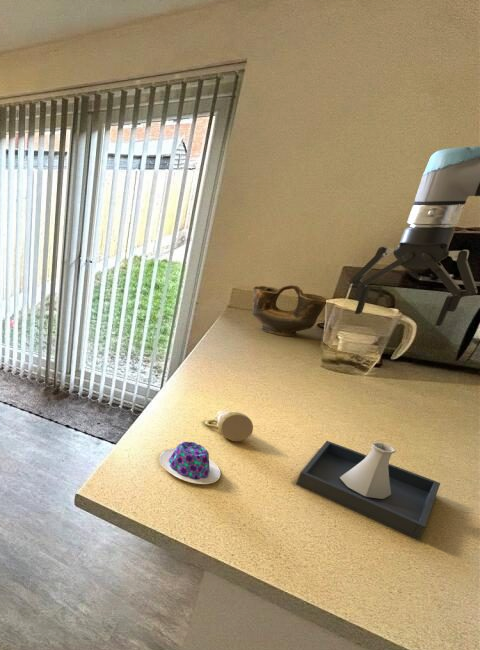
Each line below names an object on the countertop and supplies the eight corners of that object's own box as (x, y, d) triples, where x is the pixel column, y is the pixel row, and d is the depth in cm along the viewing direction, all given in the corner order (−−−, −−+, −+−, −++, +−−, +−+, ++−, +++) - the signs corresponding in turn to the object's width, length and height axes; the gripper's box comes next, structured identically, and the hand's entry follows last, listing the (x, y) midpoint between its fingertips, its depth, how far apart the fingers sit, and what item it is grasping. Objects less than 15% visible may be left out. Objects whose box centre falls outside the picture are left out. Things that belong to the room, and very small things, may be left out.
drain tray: (433, 495, 78) (440, 482, 77) (417, 540, 69) (425, 526, 67) (321, 452, 91) (326, 440, 90) (295, 484, 82) (300, 472, 81)
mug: (233, 421, 104) (257, 403, 96) (233, 453, 98) (259, 437, 90) (204, 411, 105) (225, 392, 97) (203, 442, 100) (226, 425, 92)
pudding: (169, 484, 83) (173, 464, 81) (152, 449, 94) (156, 430, 91) (230, 489, 81) (236, 469, 79) (205, 452, 92) (211, 434, 90)
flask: (331, 475, 83) (348, 437, 79) (363, 473, 83) (381, 434, 79) (365, 501, 76) (385, 460, 72) (399, 498, 77) (422, 457, 73)
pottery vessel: (238, 327, 168) (250, 281, 160) (248, 321, 174) (260, 277, 167) (311, 343, 150) (329, 293, 142) (319, 337, 156) (336, 288, 148)
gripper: (350, 225, 94) (324, 311, 102) (522, 228, 75) (475, 333, 82) (359, 224, 98) (334, 306, 105) (526, 226, 79) (480, 327, 86)
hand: (396, 318), depth 94 cm, fingers open, 13 cm apart
